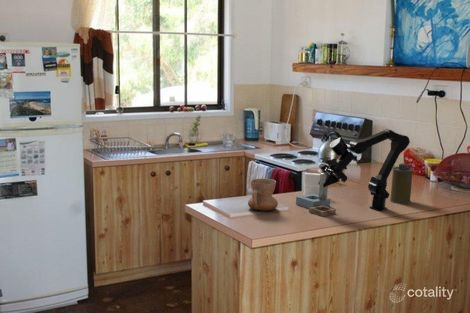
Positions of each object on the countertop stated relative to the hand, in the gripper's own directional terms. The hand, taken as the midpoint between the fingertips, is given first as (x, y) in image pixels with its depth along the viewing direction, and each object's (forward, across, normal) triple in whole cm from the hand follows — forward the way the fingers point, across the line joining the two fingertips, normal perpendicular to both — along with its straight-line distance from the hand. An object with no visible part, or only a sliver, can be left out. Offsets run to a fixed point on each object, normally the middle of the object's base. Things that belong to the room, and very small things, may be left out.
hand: (321, 185), depth 285 cm
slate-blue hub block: (+7, -13, +12) cm, 19 cm away
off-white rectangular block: (+1, -31, +18) cm, 36 cm away
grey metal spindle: (+4, 0, +6) cm, 7 cm away
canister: (-28, -10, +47) cm, 55 cm away
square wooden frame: (+9, 0, +10) cm, 14 cm away
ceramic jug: (+27, -12, -8) cm, 31 cm away
